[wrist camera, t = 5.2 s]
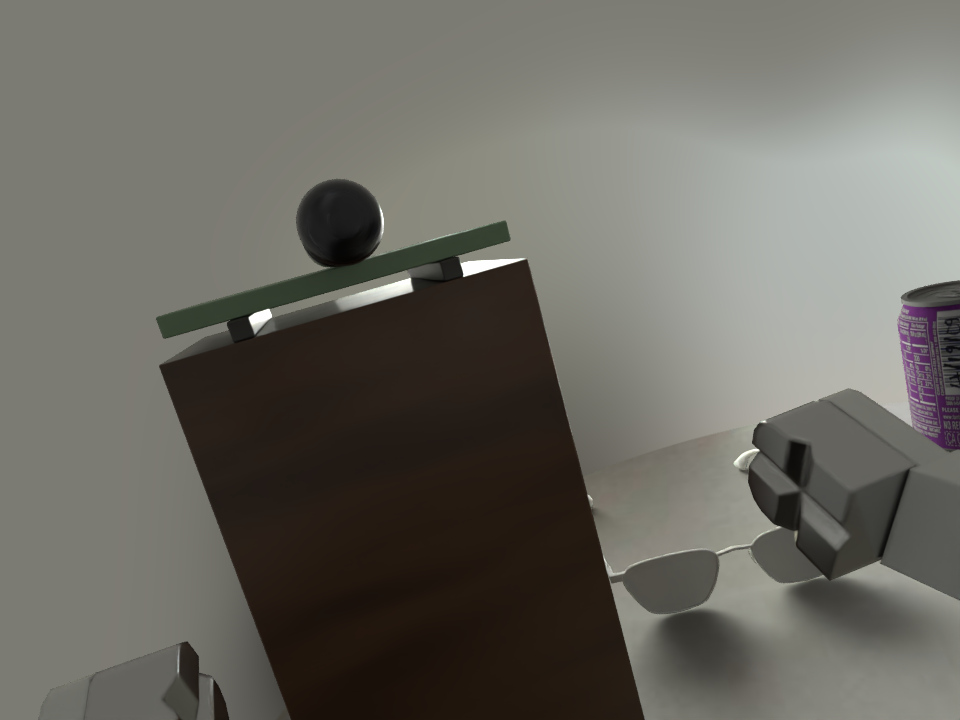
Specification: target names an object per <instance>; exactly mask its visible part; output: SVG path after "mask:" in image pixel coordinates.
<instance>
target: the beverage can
mask: <svg viewBox="0 0 960 720" xmlns="http://www.w3.org/2000/svg"><path fill="white" fill-rule="evenodd" d="M901 301H902V304H903V307H902V309H901V312H900V315H899V317H898V320H897V321H898V331H899V337H900V344H901V351H902V358H903V364H904V371H905V378H906V385H907V392H908V398H909V405H910V412H911V419H912V425H913V428H914V429H915V430H917V431H918V432H920V433H921V434H923V435H924V436H925V437H927V438H928V439H930V440H931V441H933V442H934V443H936V444H937V445H939V446H940V447H941V448H943V449H944V450H946V451H949V452H952V451H955V450H960V281H951V282H944V283H938V284H933V285H929V286H924V287H921V288H917V289H914V290H911V291H909V292H907V293H905V294H904V295H902V297H901Z"/></svg>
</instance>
